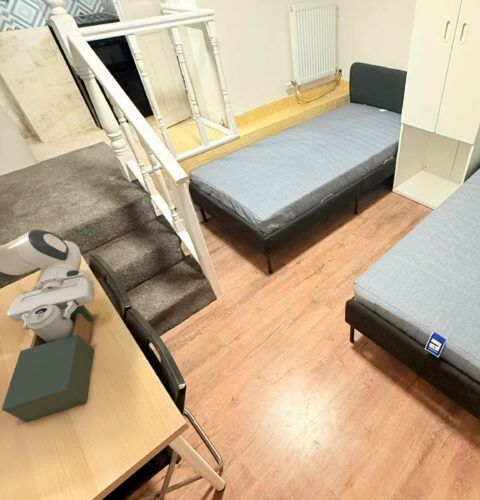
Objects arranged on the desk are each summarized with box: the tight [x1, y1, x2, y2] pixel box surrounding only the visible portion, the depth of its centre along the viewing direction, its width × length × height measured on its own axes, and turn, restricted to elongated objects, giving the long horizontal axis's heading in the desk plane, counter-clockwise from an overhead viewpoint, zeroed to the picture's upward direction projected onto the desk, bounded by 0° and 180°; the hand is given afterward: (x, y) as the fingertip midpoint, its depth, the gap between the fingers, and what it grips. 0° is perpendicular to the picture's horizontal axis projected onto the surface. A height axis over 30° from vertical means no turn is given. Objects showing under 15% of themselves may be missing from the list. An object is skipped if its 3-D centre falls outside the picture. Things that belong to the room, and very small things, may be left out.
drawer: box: [29, 304, 96, 348], centre depth 94 cm, size 16×12×7 cm
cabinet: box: [1, 335, 95, 423], centre depth 85 cm, size 16×14×9 cm
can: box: [26, 304, 75, 343], centre depth 91 cm, size 8×8×12 cm
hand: (46, 322), depth 89 cm, fingers closed on can, 7 cm apart
